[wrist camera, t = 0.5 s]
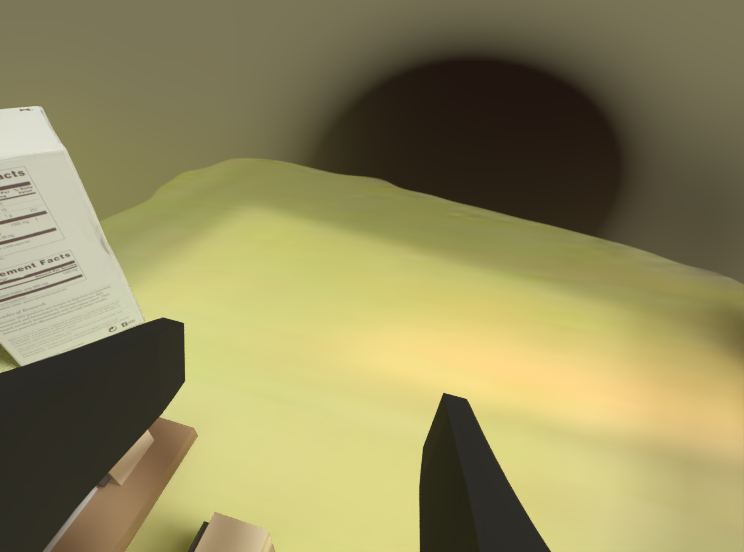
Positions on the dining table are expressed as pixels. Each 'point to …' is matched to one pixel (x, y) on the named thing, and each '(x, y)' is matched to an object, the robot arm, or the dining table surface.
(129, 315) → the supplement box
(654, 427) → the dining table surface
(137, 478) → the rail base
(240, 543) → the block
